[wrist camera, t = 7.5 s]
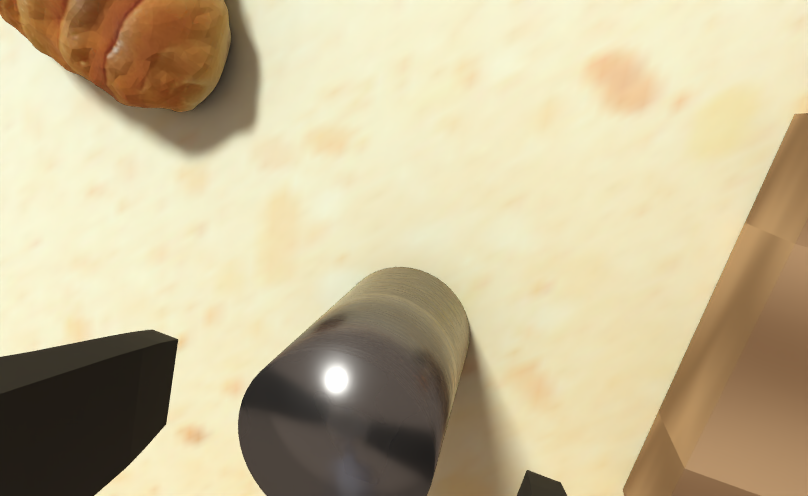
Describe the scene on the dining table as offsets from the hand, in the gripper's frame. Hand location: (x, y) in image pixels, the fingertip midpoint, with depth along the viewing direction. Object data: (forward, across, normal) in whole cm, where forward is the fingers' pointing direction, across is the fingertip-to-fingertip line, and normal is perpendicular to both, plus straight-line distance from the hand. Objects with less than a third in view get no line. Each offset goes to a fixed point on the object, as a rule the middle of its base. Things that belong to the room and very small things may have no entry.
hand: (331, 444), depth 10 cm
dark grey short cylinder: (+6, 0, 0) cm, 6 cm away
